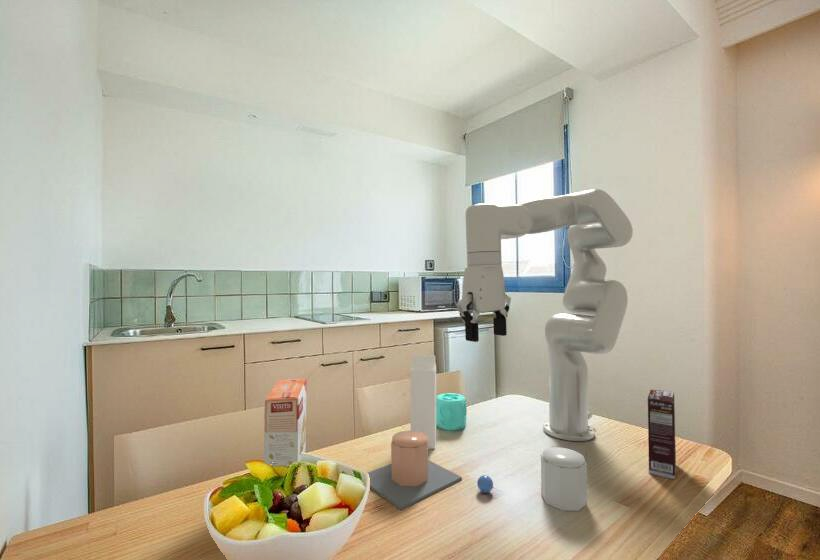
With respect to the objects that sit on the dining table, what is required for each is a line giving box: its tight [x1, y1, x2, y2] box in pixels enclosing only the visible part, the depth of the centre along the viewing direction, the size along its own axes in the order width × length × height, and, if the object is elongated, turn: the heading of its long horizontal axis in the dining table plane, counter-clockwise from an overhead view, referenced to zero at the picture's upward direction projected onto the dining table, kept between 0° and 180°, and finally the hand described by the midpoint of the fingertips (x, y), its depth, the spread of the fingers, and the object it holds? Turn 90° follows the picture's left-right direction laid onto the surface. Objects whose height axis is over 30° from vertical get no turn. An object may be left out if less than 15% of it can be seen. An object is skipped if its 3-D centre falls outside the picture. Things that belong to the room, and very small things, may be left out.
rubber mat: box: [367, 459, 463, 511], centre depth 78 cm, size 16×14×1 cm
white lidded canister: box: [540, 446, 588, 512], centre depth 71 cm, size 7×7×8 cm
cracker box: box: [263, 378, 308, 467], centre depth 71 cm, size 14×6×21 cm, turn 9°
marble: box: [476, 474, 494, 494], centre depth 74 cm, size 3×3×3 cm
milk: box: [409, 354, 437, 450], centre depth 96 cm, size 6×6×22 cm
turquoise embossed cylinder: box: [436, 392, 468, 432], centre depth 108 cm, size 8×8×8 cm
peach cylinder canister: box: [390, 430, 429, 486], centre depth 78 cm, size 7×7×8 cm
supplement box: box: [647, 389, 677, 480], centre depth 83 cm, size 9×5×16 cm, turn 145°
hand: (486, 337), depth 85 cm, fingers open, 9 cm apart
